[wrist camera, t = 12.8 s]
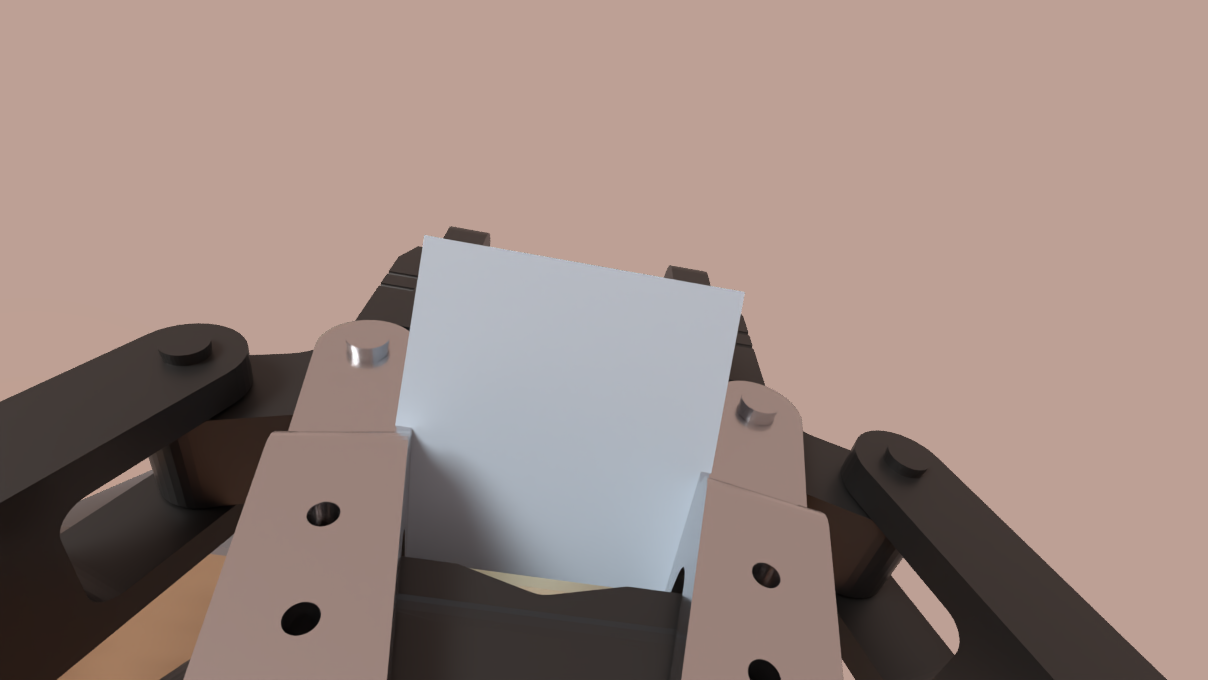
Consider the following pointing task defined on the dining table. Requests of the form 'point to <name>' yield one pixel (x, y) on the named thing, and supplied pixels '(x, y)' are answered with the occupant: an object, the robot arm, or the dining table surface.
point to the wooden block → (194, 611)
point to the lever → (559, 413)
